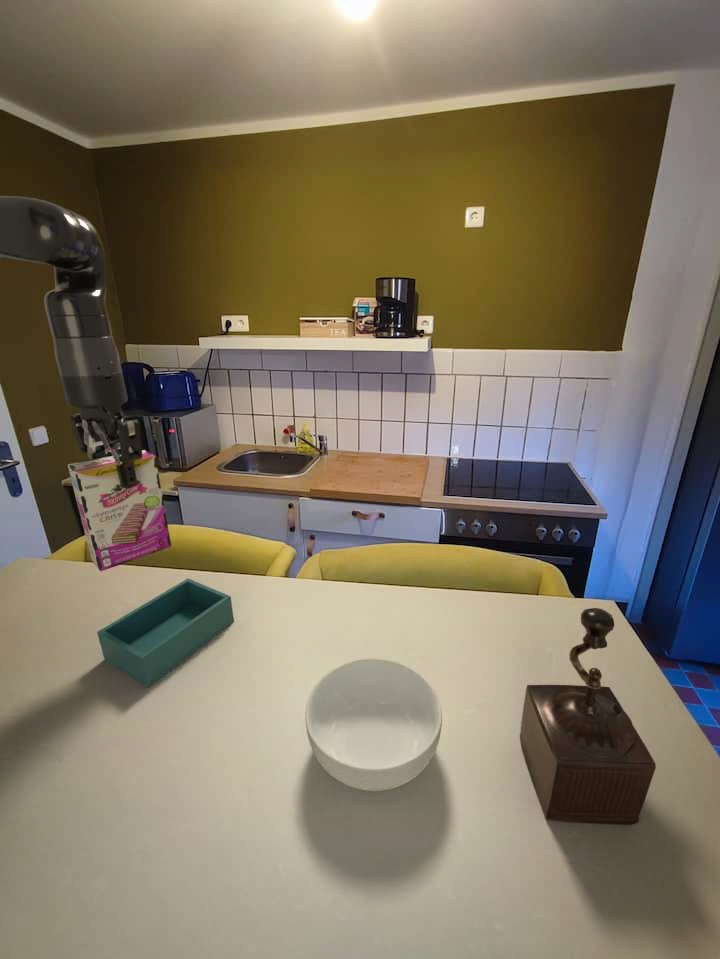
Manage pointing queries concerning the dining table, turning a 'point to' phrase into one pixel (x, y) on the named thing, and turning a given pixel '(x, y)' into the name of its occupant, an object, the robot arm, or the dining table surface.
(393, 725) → the cereal bowl
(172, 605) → the open rectangular box
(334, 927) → the dining table surface
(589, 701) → the manual coffee grinder
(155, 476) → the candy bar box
